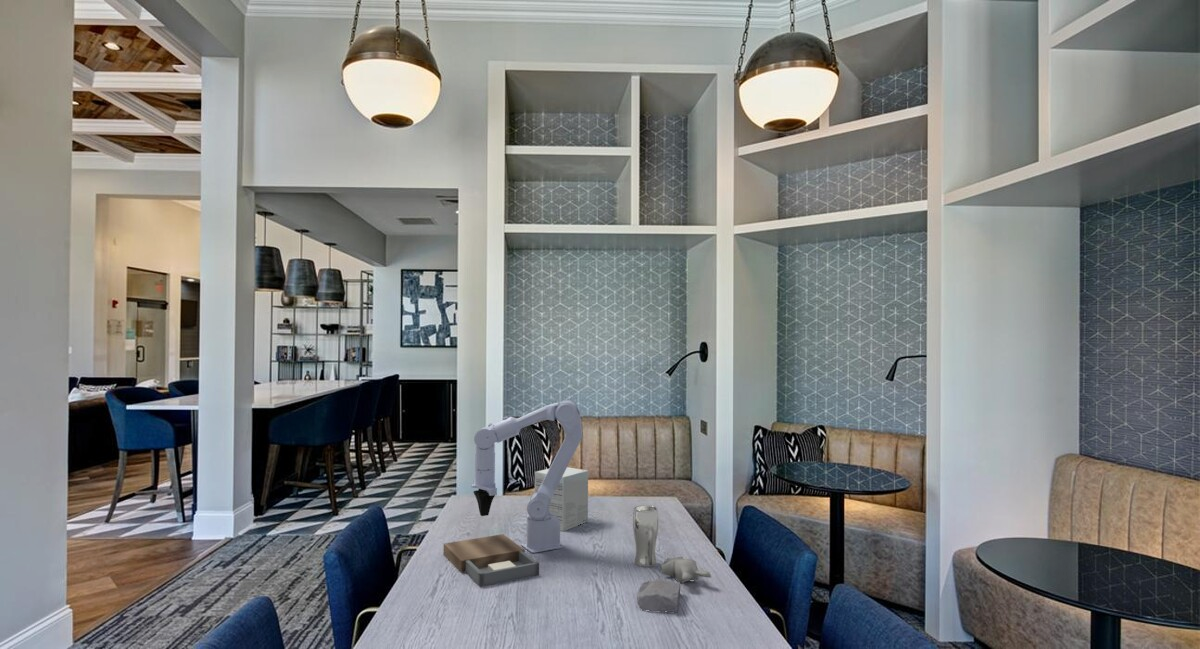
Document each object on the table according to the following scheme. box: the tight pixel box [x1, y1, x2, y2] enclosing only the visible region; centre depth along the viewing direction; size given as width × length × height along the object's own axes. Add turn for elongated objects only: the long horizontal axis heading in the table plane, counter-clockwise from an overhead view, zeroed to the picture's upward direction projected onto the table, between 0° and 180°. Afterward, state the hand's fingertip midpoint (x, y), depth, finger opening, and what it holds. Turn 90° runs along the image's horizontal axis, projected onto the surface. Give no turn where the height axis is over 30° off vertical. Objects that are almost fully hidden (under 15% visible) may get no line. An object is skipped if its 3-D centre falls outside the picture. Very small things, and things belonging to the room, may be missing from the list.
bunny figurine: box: [661, 556, 712, 583], centre depth 157 cm, size 10×5×15 cm
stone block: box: [636, 578, 681, 613], centre depth 143 cm, size 12×5×10 cm
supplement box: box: [534, 466, 589, 532], centre depth 205 cm, size 13×13×18 cm
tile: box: [488, 561, 515, 571], centre depth 158 cm, size 6×6×2 cm
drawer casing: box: [442, 534, 526, 573], centre depth 171 cm, size 18×16×3 cm
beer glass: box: [632, 504, 659, 568], centre depth 168 cm, size 7×7×15 cm
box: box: [464, 551, 540, 587], centre depth 159 cm, size 16×11×3 cm
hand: (484, 515), depth 180 cm, fingers closed
